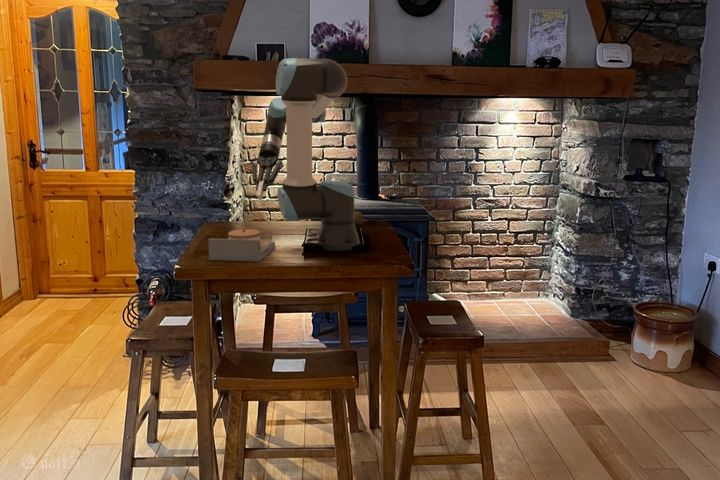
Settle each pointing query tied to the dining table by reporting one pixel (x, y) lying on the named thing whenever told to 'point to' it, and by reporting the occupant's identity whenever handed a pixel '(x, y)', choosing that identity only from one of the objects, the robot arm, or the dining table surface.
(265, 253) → the grey u-shaped frame
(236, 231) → the lidded jar
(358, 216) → the kendama
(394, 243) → the dining table surface
